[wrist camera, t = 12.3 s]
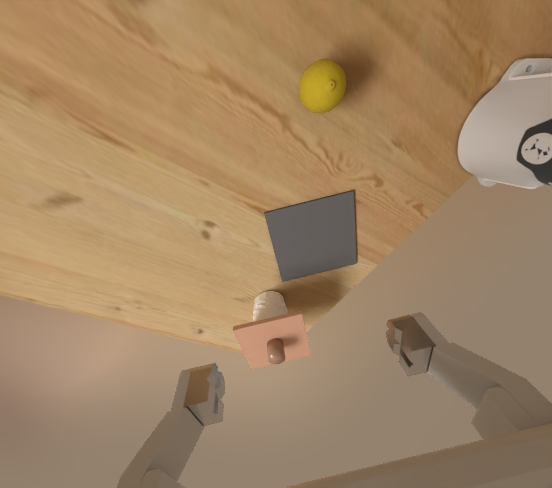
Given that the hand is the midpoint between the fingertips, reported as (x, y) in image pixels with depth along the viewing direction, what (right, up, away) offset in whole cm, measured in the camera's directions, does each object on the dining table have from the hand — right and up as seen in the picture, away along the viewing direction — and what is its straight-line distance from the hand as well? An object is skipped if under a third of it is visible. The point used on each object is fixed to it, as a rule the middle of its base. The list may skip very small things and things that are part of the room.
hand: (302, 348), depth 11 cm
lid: (-1, -13, +32) cm, 35 cm away
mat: (+6, +6, +34) cm, 35 cm away
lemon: (+4, +26, +22) cm, 34 cm away
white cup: (-3, -8, +41) cm, 42 cm away
